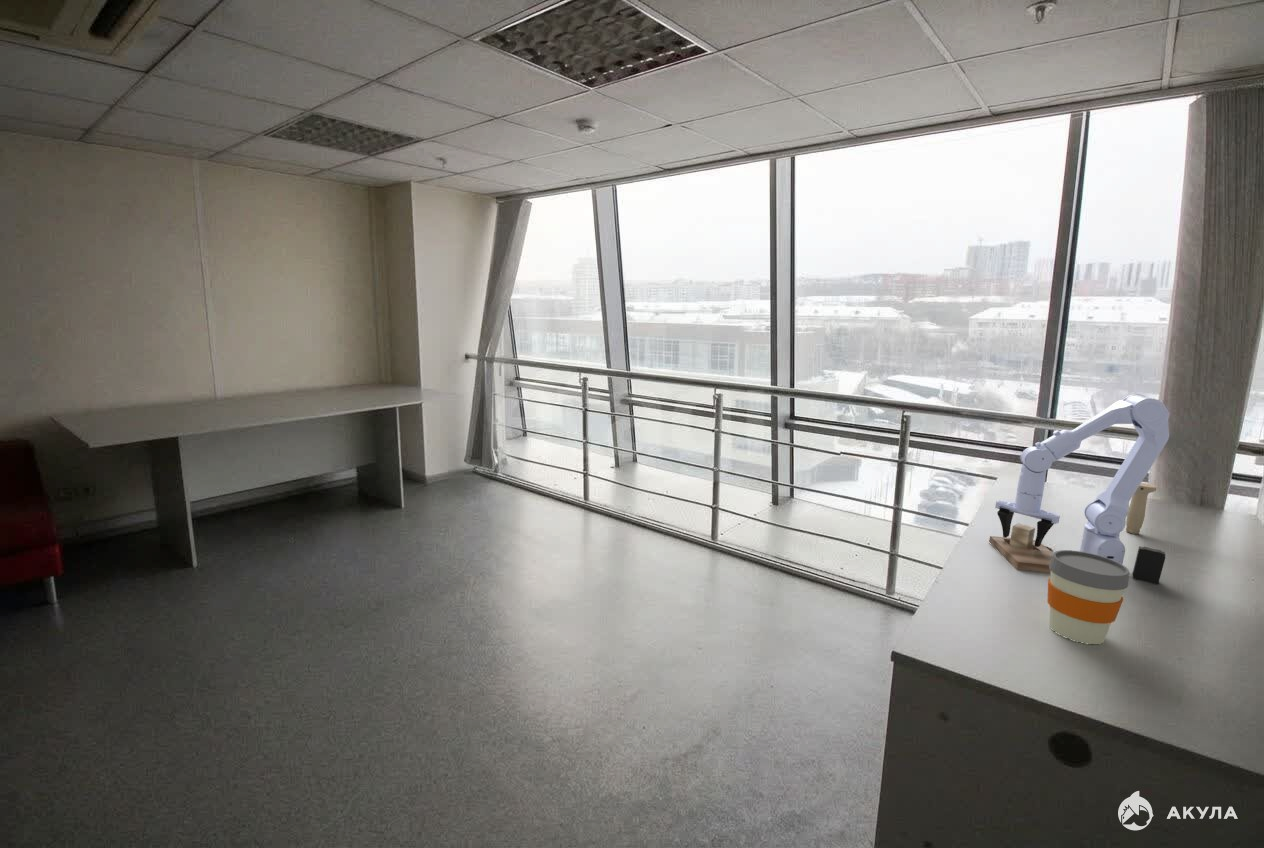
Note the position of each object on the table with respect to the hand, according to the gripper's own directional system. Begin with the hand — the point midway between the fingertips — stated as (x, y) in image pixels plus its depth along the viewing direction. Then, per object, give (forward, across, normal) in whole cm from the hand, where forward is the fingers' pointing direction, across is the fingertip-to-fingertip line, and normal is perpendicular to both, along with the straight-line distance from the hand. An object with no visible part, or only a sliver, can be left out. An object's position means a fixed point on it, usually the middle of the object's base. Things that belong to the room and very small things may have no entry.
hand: (1021, 541), depth 163 cm
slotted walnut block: (+3, -3, +3) cm, 5 cm away
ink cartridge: (+3, -25, -7) cm, 26 cm away
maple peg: (+3, 0, 0) cm, 3 cm away
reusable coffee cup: (+3, -24, +38) cm, 45 cm away
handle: (+3, -13, -48) cm, 49 cm away
